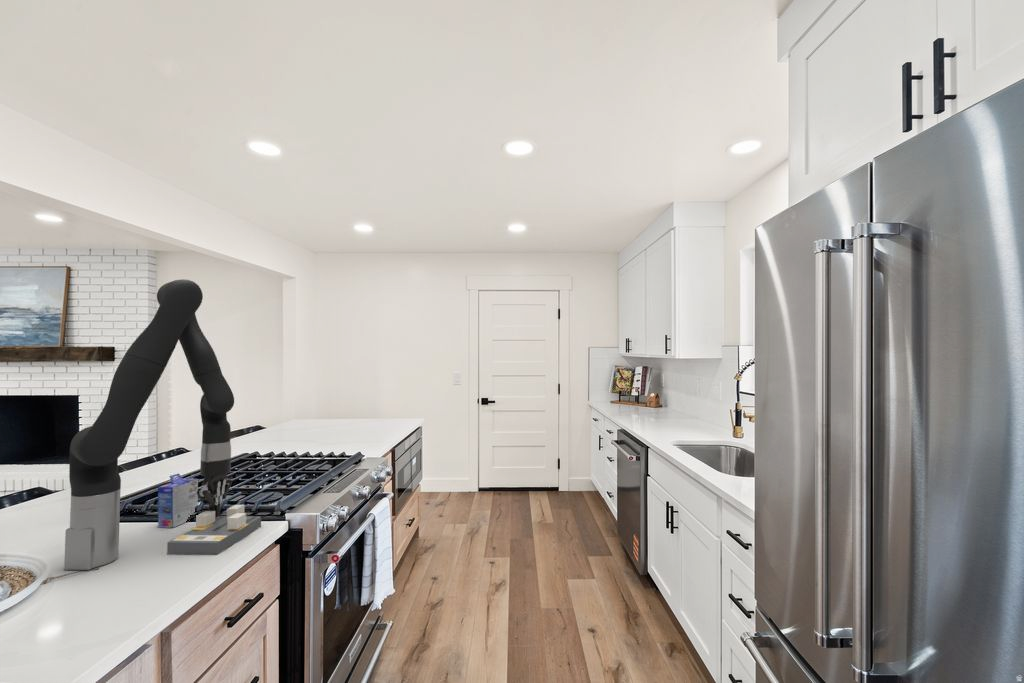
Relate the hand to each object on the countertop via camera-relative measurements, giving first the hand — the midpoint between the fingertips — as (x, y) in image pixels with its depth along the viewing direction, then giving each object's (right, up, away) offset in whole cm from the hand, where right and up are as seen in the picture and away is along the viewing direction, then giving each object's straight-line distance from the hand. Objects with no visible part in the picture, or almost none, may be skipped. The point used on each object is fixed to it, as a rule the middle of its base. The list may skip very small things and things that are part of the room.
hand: (214, 517), depth 136 cm
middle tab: (+5, -1, +2) cm, 5 cm away
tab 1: (0, 0, -4) cm, 4 cm away
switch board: (+5, -4, -6) cm, 9 cm away
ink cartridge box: (-16, -4, +7) cm, 18 cm away
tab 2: (+10, 0, -6) cm, 12 cm away
